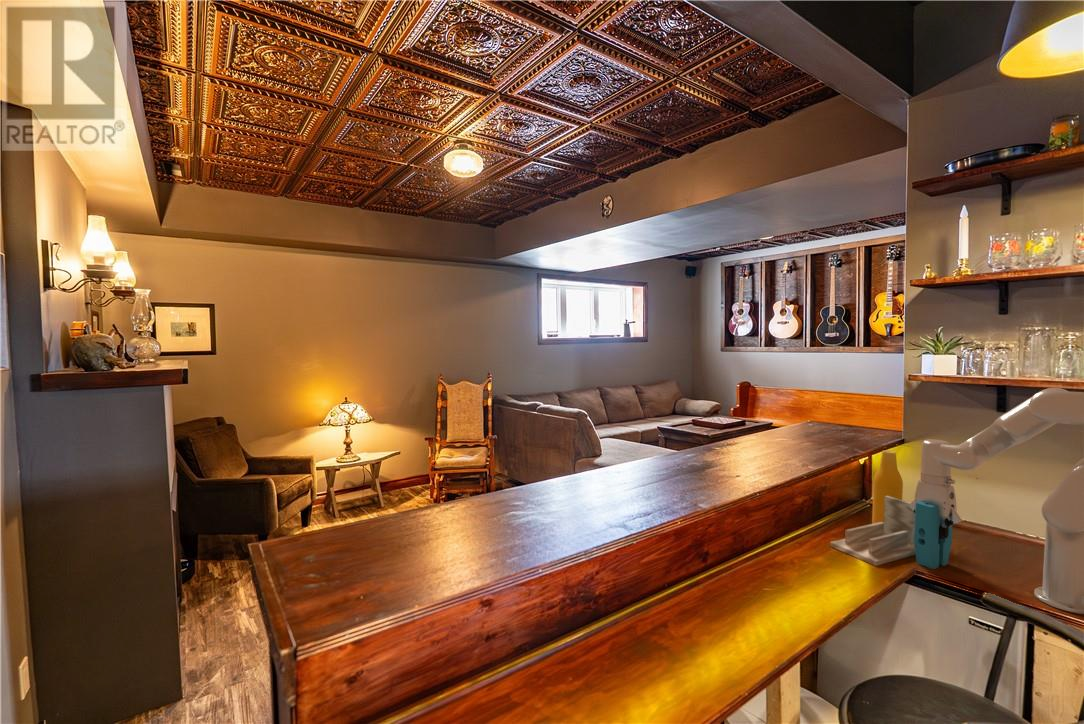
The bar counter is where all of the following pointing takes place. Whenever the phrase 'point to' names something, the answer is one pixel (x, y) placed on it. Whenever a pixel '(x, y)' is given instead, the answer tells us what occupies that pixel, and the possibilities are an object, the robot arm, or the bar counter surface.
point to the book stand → (882, 536)
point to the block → (930, 536)
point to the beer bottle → (886, 484)
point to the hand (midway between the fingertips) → (933, 534)
